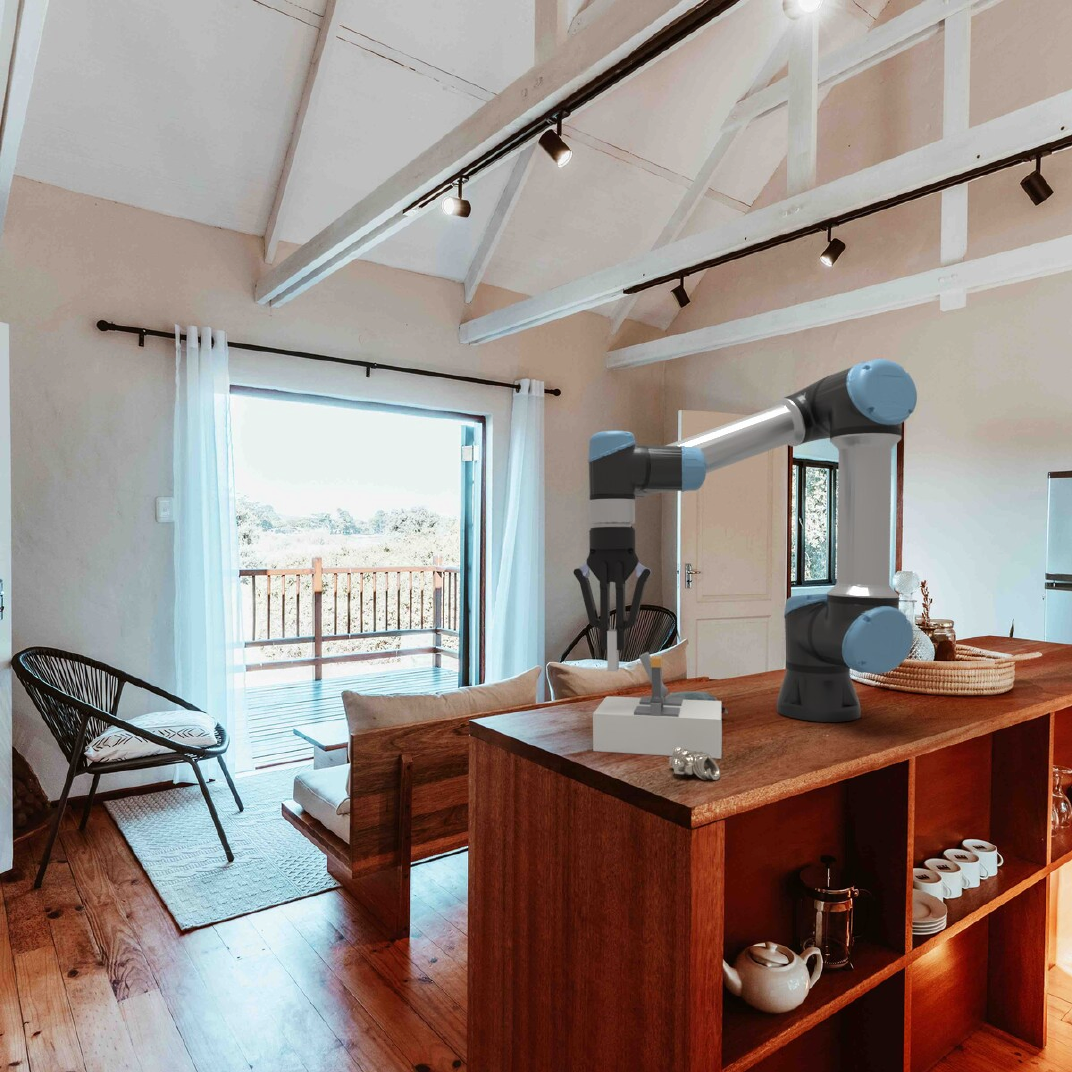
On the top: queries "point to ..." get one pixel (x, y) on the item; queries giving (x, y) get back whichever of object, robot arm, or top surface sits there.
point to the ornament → (694, 764)
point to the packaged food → (695, 697)
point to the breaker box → (657, 724)
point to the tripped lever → (656, 680)
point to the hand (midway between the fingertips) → (613, 669)
